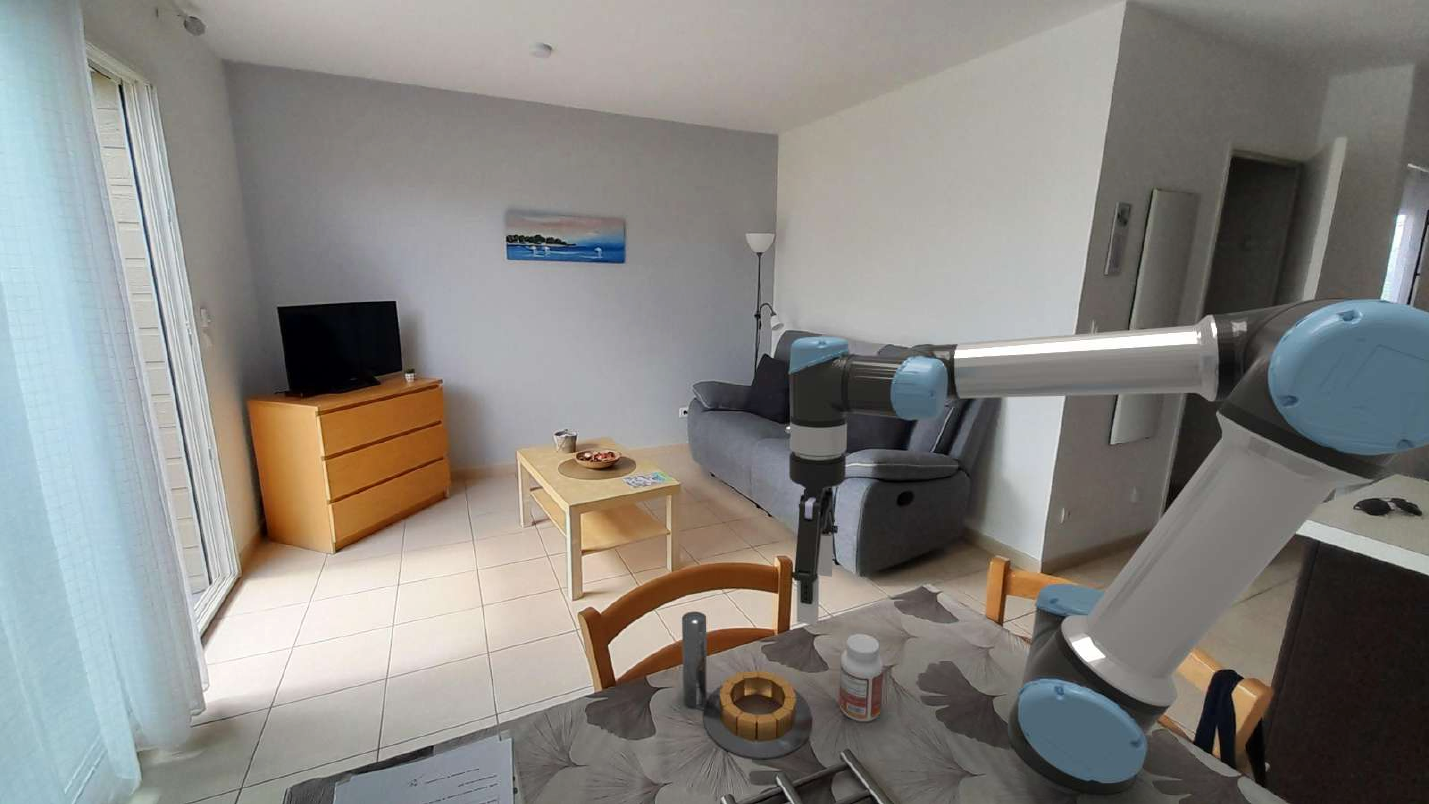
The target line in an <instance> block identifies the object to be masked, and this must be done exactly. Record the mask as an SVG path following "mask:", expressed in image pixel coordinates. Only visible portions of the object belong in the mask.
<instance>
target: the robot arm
mask: <svg viewBox="0 0 1429 804" xmlns="http://www.w3.org/2000/svg"><path fill="white" fill-rule="evenodd" d="M788 375H789V413H790V414H789V426H786V428H785V433H786V434H790V437H789V449H790V450H791V452H790V454H789V457H788V458H789V460H788V461H789V467H788V469H789V479H790V480H791V481H792V482H793V483H794V484H796V485H799V486H802V487H803V488H804V489H803V494H800V499H799V503H798V509H799V510H798V525H797V527H798V528H797V539H796V549H795V561H794V563H795V564H794V570H793V571H790V577H791V578H792V579H793V580H794V581H796V623H801V624H807V625H812V626H814V625H815V626H818V625H819V606H820V605H819V604H820V603H819V601H820V600H819V599H820V597H819V596H820V594H819V592H820V590H819V589H820V576H821V577H822V576H823V577H830V578H832V576H833V546H834V545H833V543H834V539H833V538H834V534H838V529H839V526H838V525H834V524H835V522H836V518H835V508H834V505H835V504H834V491H833V489H834V488H833V487H836V486H839V485H841V484H843V483H844V481H845V480H846V467H847V466H846V465H847V463H846V462H847V461H846V459H847V457H846V455H845V454H844V452H846V451H847V444H848V443H847V437H848V436H847V432H848V422H847V421H848V420H847V417H848V416H847V414H848V413H849V414H859V415H867V416H874V417H875V416H877V417H886V418H896V419H903V420H905V421H914V420H917V421H919V420H921V421H922V420H923V421H925V420H926V421H933V420H936V419H938V418H939V417H940V416H941V415H942V413H943V409H944V407H945V405H946V402H947V400H956V399H980V398H981V399H982V398H983V399H985V398H986V399H987V398H989V399H990V398H1025V397H1028V398H1029V397H1030V398H1031V397H1032V398H1033V397H1064V396H1065V397H1066V396H1067V397H1071V396H1075V397H1076V396H1105V395H1106V396H1107V395H1108V396H1109V395H1111V396H1113V395H1147V394H1148V395H1149V394H1150V395H1151V394H1155V395H1156V394H1186V393H1187V394H1189V393H1191V394H1193V393H1195V394H1198V395H1200V396H1201V397H1203V398H1204V399H1206V400H1207V401H1208V402H1223V403H1222V404H1221V406H1220V407H1219V408H1218V409H1217V411H1216V413H1215V416H1216V418H1217V420H1218V423H1219V426H1220V428H1221V430H1222V431H1221V438H1220V440H1219V441H1218V442H1217V443H1216V444H1215V446H1214V448H1213V449H1212V450H1211V451H1210V452H1209V454H1208V455H1207V457H1206V458H1205V459H1204V460H1203V462H1202V464H1200V466H1199V467H1198V469H1197V470H1196V472H1195V473H1194V474H1193V475H1192V477H1191V478H1190V479H1189V481H1188V482H1187V484H1185V486H1184V487H1183V489H1182V490H1181V491H1180V492H1179V494H1177V497H1176V498H1175V499H1174V500H1173V502H1172V503H1171V504H1170V506H1169V507H1168V508H1167V509H1166V511H1165V512H1164V514H1163V515H1162V516H1161V518H1160V519H1159V521H1158V522H1157V523H1156V525H1155V526H1154V527H1153V529H1152V530H1151V531H1150V533H1149V534H1148V535H1147V536H1146V537H1145V539H1144V540H1143V542H1141V544H1140V545H1139V547H1138V548H1137V549H1136V551H1135V552H1134V554H1132V556H1131V557H1130V559H1129V560H1128V562H1127V563H1126V564H1125V565H1124V567H1123V568H1122V570H1121V571H1120V572H1119V573H1118V574H1117V576H1116V577H1115V579H1114V580H1113V581H1112V582H1111V584H1110V586H1109V587H1108V588H1107V589H1106V590H1105V591H1103V590H1101V589H1097V588H1094V587H1088V586H1086V585H1085V586H1083V585H1079V584H1071V583H1051V584H1047V585H1044V586H1043V587H1041V588H1040V590H1039V592H1038V595H1037V600H1036V602H1035V603H1034V606H1035V613H1034V614H1035V615H1034V616H1035V617H1034V624H1033V629H1032V635H1031V641H1030V645H1029V651H1028V655H1027V658H1026V659H1027V660H1026V664H1025V669H1024V672H1023V673H1024V675H1023V678H1022V684H1021V688H1020V689H1019V691H1018V696H1017V699H1016V700H1015V702H1014V704H1013V705H1012V707H1011V709H1010V711H1009V714H1008V723H1007V736H1008V739H1009V742H1010V743H1011V746H1012V747H1013V749H1014V750H1015V751H1016V753H1017V754H1018V755H1019V757H1020V758H1022V760H1023V761H1025V763H1026V764H1028V765H1029V766H1030V767H1031V768H1033V769H1034V770H1036V771H1037V772H1038V773H1040V774H1041V775H1042V776H1044V777H1046V778H1048V779H1049V780H1051V781H1053V782H1055V783H1056V784H1057V783H1058V784H1059V785H1062V786H1064V787H1067V788H1069V789H1073V790H1077V791H1080V792H1083V793H1089V794H1094V795H1095V794H1096V795H1110V794H1116V793H1120V792H1122V791H1125V790H1126V789H1127V788H1129V787H1130V786H1131V785H1132V784H1133V782H1134V780H1135V776H1136V774H1138V773H1139V772H1140V770H1141V768H1142V767H1143V766H1144V765H1143V764H1144V763H1145V759H1146V756H1147V753H1148V752H1147V751H1148V743H1147V739H1146V736H1147V734H1148V733H1149V731H1150V730H1151V729H1152V727H1153V726H1154V725H1155V724H1156V723H1157V722H1158V721H1159V720H1160V718H1161V717H1162V716H1163V715H1164V714H1165V713H1166V711H1168V709H1169V708H1170V707H1171V706H1172V705H1173V704H1174V703H1175V702H1176V700H1177V698H1178V690H1177V688H1176V684H1175V681H1174V679H1173V676H1172V675H1173V673H1175V672H1176V670H1177V669H1178V668H1179V667H1180V666H1181V665H1182V664H1183V663H1184V662H1185V660H1186V659H1187V658H1188V656H1190V654H1191V653H1192V652H1193V651H1194V650H1195V649H1196V648H1197V646H1198V645H1199V644H1200V643H1201V642H1202V640H1203V639H1204V638H1205V637H1206V636H1207V635H1208V634H1209V633H1210V631H1211V630H1212V629H1213V628H1214V627H1215V626H1216V624H1217V623H1219V621H1221V619H1222V618H1223V617H1224V615H1225V614H1226V613H1227V612H1228V611H1229V609H1230V608H1231V607H1232V606H1233V605H1234V604H1235V603H1236V601H1238V599H1239V598H1240V597H1241V596H1242V595H1243V594H1244V593H1245V591H1247V589H1248V588H1249V587H1250V586H1251V585H1252V584H1253V582H1254V581H1255V580H1256V579H1257V578H1258V577H1259V575H1260V574H1261V573H1262V572H1263V571H1264V569H1265V568H1267V566H1268V565H1269V564H1270V563H1271V562H1272V560H1273V559H1274V558H1275V557H1276V556H1277V555H1278V554H1279V553H1280V551H1282V549H1283V548H1284V547H1285V546H1286V545H1287V544H1288V542H1289V541H1290V540H1292V538H1293V536H1294V535H1296V533H1297V532H1298V531H1299V530H1300V529H1301V528H1302V526H1303V525H1304V524H1305V523H1306V521H1308V519H1310V517H1311V516H1312V515H1313V513H1315V512H1316V510H1317V509H1318V508H1319V507H1320V506H1321V505H1322V503H1323V502H1324V501H1325V500H1326V499H1327V498H1328V497H1329V495H1330V494H1331V493H1332V492H1333V491H1334V490H1335V489H1337V488H1340V487H1347V486H1348V487H1349V486H1355V485H1362V484H1370V483H1372V482H1374V480H1375V479H1376V478H1377V477H1378V476H1379V475H1380V473H1381V472H1383V470H1384V469H1385V468H1386V467H1387V466H1388V465H1389V464H1390V463H1391V462H1392V461H1393V459H1395V457H1396V456H1397V455H1398V454H1399V453H1401V452H1407V451H1410V450H1414V449H1418V448H1422V447H1423V446H1427V445H1429V312H1427V311H1425V310H1422V309H1419V308H1416V307H1415V306H1412V305H1411V304H1402V303H1398V302H1393V301H1389V300H1387V299H1370V298H1369V299H1366V298H1365V299H1351V298H1341V297H1326V298H1325V297H1323V298H1321V297H1320V298H1313V299H1306V300H1301V301H1295V302H1291V303H1286V304H1281V305H1274V306H1270V307H1266V308H1258V309H1251V310H1245V311H1239V312H1238V311H1237V312H1230V313H1229V312H1228V313H1219V314H1207V315H1205V316H1204V317H1203V318H1202V319H1201V320H1200V321H1198V323H1196V324H1194V325H1184V326H1183V325H1182V326H1171V327H1170V326H1169V327H1155V328H1146V329H1145V328H1143V329H1142V328H1141V329H1130V330H1119V331H1118V330H1117V331H1104V332H1093V333H1079V334H1077V333H1076V334H1067V335H1066V334H1064V335H1053V336H1042V337H1041V336H1037V337H1026V338H1013V339H1001V340H1000V339H998V340H988V341H987V340H986V341H976V342H975V341H974V342H973V341H972V342H963V343H957V344H956V343H955V344H954V343H953V344H933V343H922V344H916V345H913V346H912V347H908V348H907V349H905V350H903V351H900V352H897V353H894V354H892V355H865V354H864V355H863V354H862V355H861V354H855V353H850V349H849V342H848V341H847V339H845V338H842V337H834V336H812V337H811V336H810V337H801V338H797V339H796V340H794V341H793V343H792V344H791V346H790V359H789V370H788ZM830 533H831V534H830Z"/></svg>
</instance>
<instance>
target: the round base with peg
mask: <svg viewBox="0 0 1429 804" xmlns="http://www.w3.org/2000/svg"><path fill="white" fill-rule="evenodd" d="M681 622H682V623H681V624H682V625H681V626H682V627H681V628H682V629H681V634H682V638H681V639H682V641H681V642H682V697H683V699H682V702H683V704H684V705H685V707H687V708H689V709H693V710H695V709H696V710H700V711H703V714H702V715H703V724H704V728H705V731H706V732H707V734H708V735H709V737H710V738H711V739H712V740H713V742H714V743H715V744H716V745H717V746H719V747H720V748H722V749H723V750H725V751H726V752H728V753H731V754H733V755H735V756H737V757H742V758H744V759H745V758H746V759H751V760H752V759H753V760H771V759H776V758H777V759H778V758H781V757H783V756H787V755H789V754H791V753H793V752H795V751H796V750H798V749H800V747H802V746H803V745H804V744H805V742H806V741H807V739H808V738H809V736H810V734H811V731H812V727H813V715H812V711H811V708H810V706H809V704H808V701H806V699H805V698H804V696H803V695H802V694H801V693H800V692H798V691H797V690H796V689H795V688H793V686H792V685H791V683H789V682H788V681H787V680H785V679H784V678H782V677H781V676H780V675H777V674H776V673H772V672H767V671H762V670H759V671H758V670H750V671H749V670H748V671H741V672H738V673H736V674H734V675H733V676H731V677H729V678H727V679H726V681H724V683H723V684H722V685H721V686H719V687H717V688H716V689H715V690H714V691H713V692H712V693H711V692H707V687H708V686H707V675H708V674H707V672H708V671H707V616H706V614H704V613H703V612H701V611H689V612H686V613H684V614H683V615H682V617H681Z"/></svg>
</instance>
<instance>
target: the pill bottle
mask: <svg viewBox="0 0 1429 804" xmlns="http://www.w3.org/2000/svg"><path fill="white" fill-rule="evenodd" d="M845 648H846V649H845V650H844V651H843V652H842V654H841V658H840V667H839V672H840V673H839V689H838V690H839V694H838V695H839V696H838V704H839V705H838V706H839V708H840V710H841V712H842V713H843V714H844V715H845V716H847V717H848V718H849V719H852V720H854V721H858V722H863V723H864V722H870V721H873V720H875V719H877V718H878V717H879V716H880V715H881V714H880V713H881V711H882V697H883V696H882V695H883V694H882V693H883V677H884V676H883V675H884V662H883V659H882V657H881V656H880V655H879V654H880V644H879V641H878V640H877V639H876V638H874V637H872V636H870V635H868V634H861V633H856V634H852V635H850V636H848V637H847V639H846V646H845Z"/></svg>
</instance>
